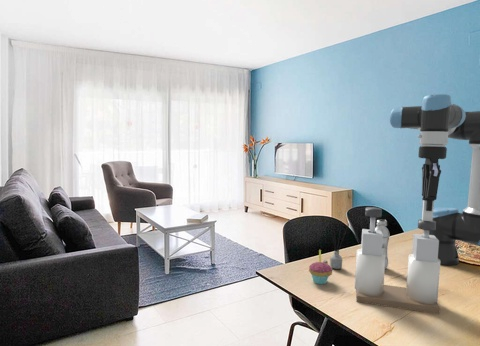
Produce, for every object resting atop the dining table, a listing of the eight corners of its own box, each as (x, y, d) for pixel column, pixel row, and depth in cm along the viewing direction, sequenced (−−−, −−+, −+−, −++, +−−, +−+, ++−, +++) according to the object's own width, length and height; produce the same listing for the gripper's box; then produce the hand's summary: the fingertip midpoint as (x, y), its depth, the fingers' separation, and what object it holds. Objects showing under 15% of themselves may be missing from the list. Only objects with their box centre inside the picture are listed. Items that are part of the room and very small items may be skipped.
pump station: (431, 296, 114) (436, 233, 111) (441, 314, 102) (447, 244, 100) (353, 286, 121) (357, 226, 119) (354, 301, 110) (358, 235, 107)
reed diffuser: (348, 268, 137) (351, 220, 135) (343, 274, 131) (346, 224, 129) (324, 263, 143) (326, 217, 141) (318, 268, 137) (320, 220, 135)
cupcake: (305, 277, 128) (306, 246, 127) (327, 276, 129) (328, 246, 128) (312, 286, 120) (313, 254, 119) (335, 286, 120) (337, 254, 119)
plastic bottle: (389, 272, 134) (392, 223, 132) (371, 270, 136) (374, 221, 134) (386, 266, 141) (389, 219, 139) (368, 264, 142) (371, 218, 140)
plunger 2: (431, 248, 109) (433, 220, 108) (435, 253, 104) (438, 223, 103) (414, 246, 111) (416, 218, 110) (417, 251, 106) (420, 222, 105)
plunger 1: (379, 235, 114) (380, 207, 113) (380, 239, 109) (382, 210, 108) (363, 233, 115) (365, 206, 114) (364, 237, 110) (365, 209, 109)
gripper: (415, 145, 111) (410, 215, 114) (424, 145, 99) (418, 224, 101) (440, 145, 109) (435, 217, 111) (453, 146, 97) (446, 226, 99)
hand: (427, 220), depth 106 cm, fingers closed
